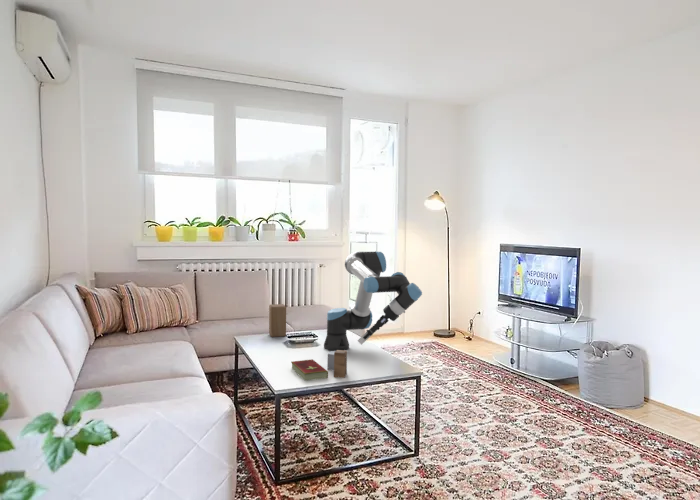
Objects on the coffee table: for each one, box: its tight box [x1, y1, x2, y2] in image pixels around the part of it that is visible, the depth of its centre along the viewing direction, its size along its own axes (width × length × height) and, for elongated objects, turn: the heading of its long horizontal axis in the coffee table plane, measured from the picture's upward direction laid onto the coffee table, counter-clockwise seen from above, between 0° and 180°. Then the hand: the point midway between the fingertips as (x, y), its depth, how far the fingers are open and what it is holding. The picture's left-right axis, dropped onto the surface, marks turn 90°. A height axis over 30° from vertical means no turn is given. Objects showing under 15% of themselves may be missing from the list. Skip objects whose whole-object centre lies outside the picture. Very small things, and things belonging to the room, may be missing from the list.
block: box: [268, 303, 287, 338], centre depth 316 cm, size 10×10×20 cm
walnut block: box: [333, 350, 348, 379], centre depth 234 cm, size 5×5×12 cm
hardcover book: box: [291, 359, 329, 381], centre depth 238 cm, size 12×21×4 cm, turn 24°
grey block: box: [326, 350, 335, 371], centre depth 246 cm, size 6×6×8 cm
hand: (362, 339), depth 230 cm, fingers open, 13 cm apart
